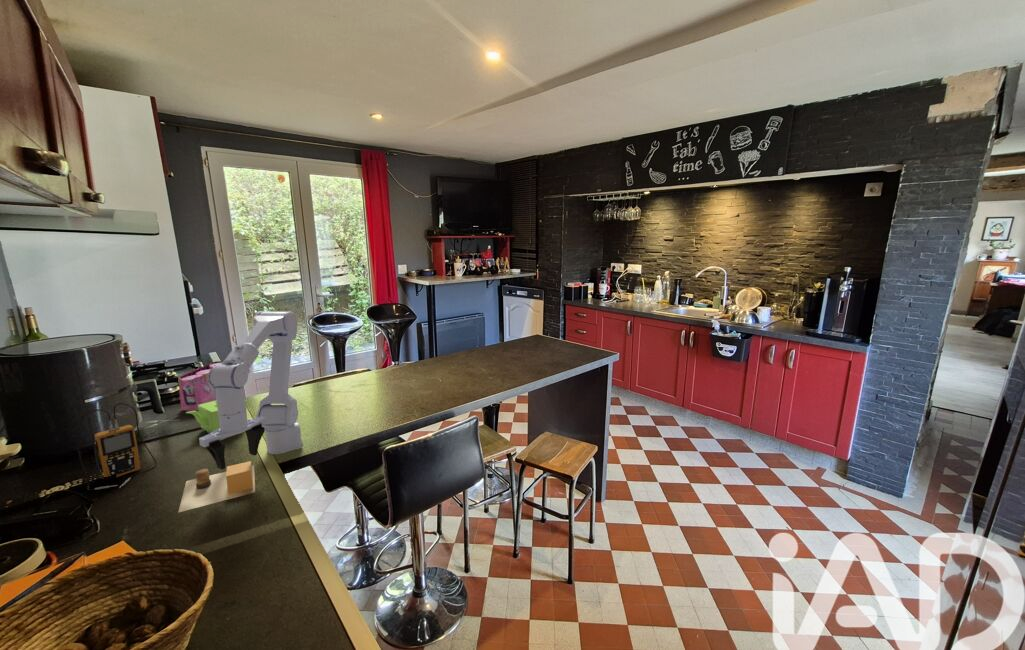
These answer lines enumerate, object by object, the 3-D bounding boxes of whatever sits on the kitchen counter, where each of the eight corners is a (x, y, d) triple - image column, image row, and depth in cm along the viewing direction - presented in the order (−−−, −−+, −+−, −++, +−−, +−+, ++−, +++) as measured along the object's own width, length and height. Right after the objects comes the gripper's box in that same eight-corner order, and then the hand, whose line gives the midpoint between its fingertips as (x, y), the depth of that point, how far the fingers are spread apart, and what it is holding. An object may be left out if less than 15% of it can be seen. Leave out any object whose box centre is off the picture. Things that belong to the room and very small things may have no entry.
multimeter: (93, 498, 98) (79, 423, 94) (82, 485, 103) (68, 413, 99) (168, 471, 110) (158, 404, 106) (154, 461, 115) (144, 396, 112)
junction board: (254, 469, 112) (252, 452, 111) (255, 497, 100) (253, 477, 98) (187, 486, 104) (184, 467, 103) (179, 518, 91) (175, 497, 90)
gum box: (200, 412, 150) (196, 378, 147) (178, 412, 149) (173, 378, 146) (237, 390, 173) (234, 360, 170) (218, 390, 172) (215, 360, 170)
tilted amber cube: (252, 478, 105) (250, 461, 104) (253, 487, 101) (251, 470, 100) (229, 483, 102) (226, 466, 101) (228, 494, 98) (226, 476, 97)
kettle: (238, 438, 130) (234, 406, 128) (187, 443, 126) (183, 410, 124) (255, 419, 144) (251, 390, 142) (210, 423, 140) (206, 393, 138)
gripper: (252, 398, 106) (257, 445, 108) (189, 418, 93) (196, 470, 96) (268, 403, 103) (273, 451, 105) (205, 424, 90) (212, 478, 93)
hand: (238, 460), depth 100 cm, fingers open, 7 cm apart
